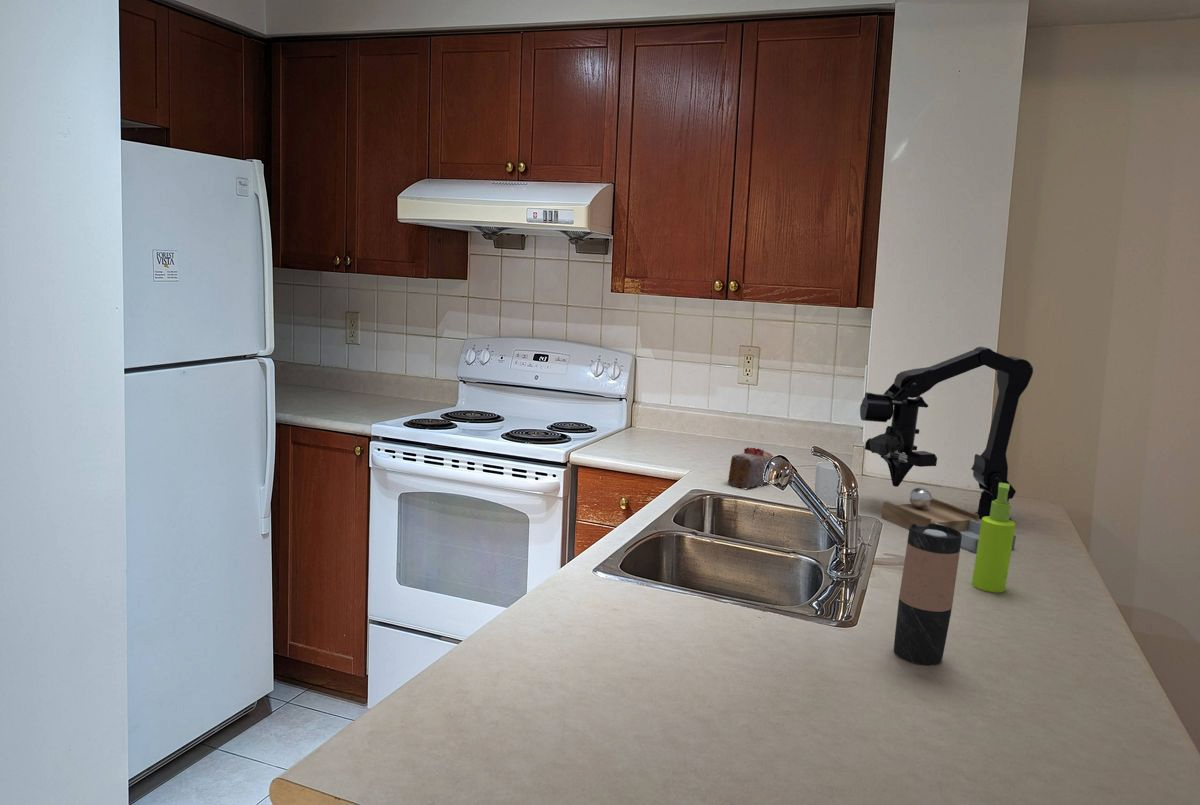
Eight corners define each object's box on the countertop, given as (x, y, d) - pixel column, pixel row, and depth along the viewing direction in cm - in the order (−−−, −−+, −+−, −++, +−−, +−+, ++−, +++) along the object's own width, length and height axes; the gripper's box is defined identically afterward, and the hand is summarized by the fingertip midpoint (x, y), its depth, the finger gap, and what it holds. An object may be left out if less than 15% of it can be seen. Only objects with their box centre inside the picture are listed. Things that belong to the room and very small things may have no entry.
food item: (749, 477, 249) (753, 441, 247) (776, 483, 244) (780, 447, 242) (724, 485, 238) (728, 447, 236) (752, 491, 233) (756, 453, 231)
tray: (970, 532, 212) (972, 519, 211) (1013, 549, 201) (1016, 536, 201) (932, 535, 206) (933, 522, 206) (974, 553, 196) (976, 539, 195)
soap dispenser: (1005, 584, 177) (1021, 483, 174) (1004, 595, 171) (1021, 491, 168) (973, 577, 180) (988, 478, 177) (970, 588, 174) (986, 485, 170)
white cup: (842, 502, 229) (846, 463, 228) (847, 511, 222) (852, 470, 220) (810, 499, 230) (814, 460, 228) (814, 507, 222) (818, 467, 221)
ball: (919, 504, 221) (922, 484, 220) (934, 510, 217) (937, 490, 216) (903, 505, 219) (906, 485, 218) (919, 511, 215) (922, 490, 214)
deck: (931, 514, 225) (933, 498, 224) (976, 531, 213) (979, 515, 212) (881, 517, 218) (883, 501, 217) (925, 536, 206) (927, 519, 205)
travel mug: (937, 671, 136) (957, 541, 133) (885, 656, 140) (903, 529, 137) (948, 654, 142) (967, 530, 139) (898, 640, 146) (915, 519, 143)
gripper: (851, 416, 227) (844, 477, 230) (907, 432, 210) (898, 498, 213) (886, 416, 232) (878, 476, 234) (942, 431, 215) (933, 496, 218)
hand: (895, 486), depth 225 cm, fingers closed
